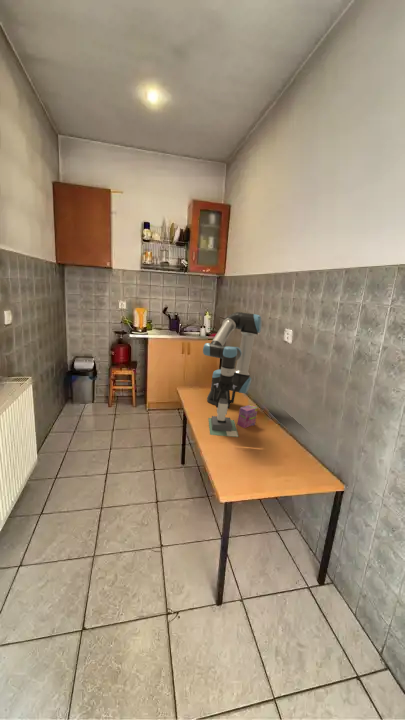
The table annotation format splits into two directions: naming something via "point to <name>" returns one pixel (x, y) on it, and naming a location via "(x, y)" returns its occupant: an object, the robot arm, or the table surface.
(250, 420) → the box
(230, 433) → the board
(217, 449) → the table surface
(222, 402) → the plug
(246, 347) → the robot arm
